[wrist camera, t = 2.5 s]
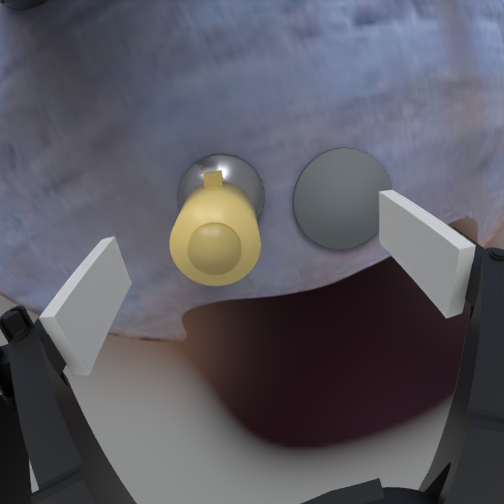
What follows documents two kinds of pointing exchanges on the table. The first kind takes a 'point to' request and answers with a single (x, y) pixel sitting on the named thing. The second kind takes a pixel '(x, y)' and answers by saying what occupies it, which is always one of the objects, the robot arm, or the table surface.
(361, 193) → the rubber mat
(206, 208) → the cap
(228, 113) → the table surface
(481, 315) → the robot arm
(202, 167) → the metal disc with peg
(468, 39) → the table surface
